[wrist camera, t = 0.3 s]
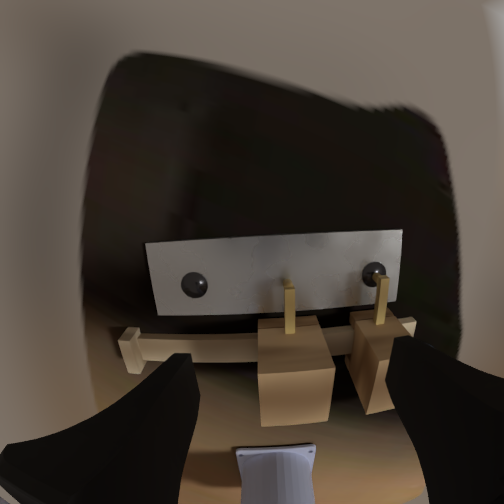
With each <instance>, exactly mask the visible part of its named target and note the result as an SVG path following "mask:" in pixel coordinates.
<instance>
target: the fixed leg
mask: <svg viewBox="0 0 504 504" xmlns="http://www.w3.org/2000/svg"><path fill="white" fill-rule="evenodd" d="M372 279H373V280H374V281H375V282H376V283H377V289H376V299H375V308H374V309H373V310H365V311H356V312H350V318H349V323H350V324H351V326H352V328H353V330H355V331H354V339H353V347H352V353H350V354H345V363H346V366H347V368H348V370H349V373H350V376H351V378H352V380H353V383H354V385H355V388H356V390H357V393H358V395H359V398H360V400H361V403H362V405H363V408H364V410H365V413H366V414H371V413H376V412H380V411H385V410H389V409H393V408H395V407H394V405H393V403H392V400H391V398H390V395H389V392H388V389H387V386H386V383H385V377H386V373H387V369H388V365H389V360H390V355H391V351H392V346H393V341H394V338H395V337H400V336H406V335H409V336H411V334H410V333H409V332H408V331H407V330H406V328H405V327H404V326H403V325H402V324H401V323H400V321H399V320H398V319H397V318H396V317H395V316H394V315H393V313H392V312H391V311H390V310H389V309H388V308H386V306H387V299H388V290H389V281H390V278H389V277H388V276H386V275H381V274H380V273H378V272H376V273H374V274H373V276H372Z"/></svg>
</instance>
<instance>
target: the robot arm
mask: <svg viewBox="0 0 504 504" xmlns="http://www.w3.org/2000/svg"><path fill="white" fill-rule="evenodd" d="M385 383H386V386H387V389H388V392H389V395H390V398H391V400H392V403H393V405H394V407H395V409H396V411H397V413H398V415H399V417H400V419H401V421H402V423H403V425H404V427H405V429H406V431H407V433H408V435H409V437H410V439H411V441H412V443H413V445H414V447H415V450H416V452H417V455H418V458H419V461H420V465H421V468H422V471H423V475H424V479H425V483H426V487H427V492H428V497H429V503H430V504H504V378H500V377H497V376H494V375H491V374H488V373H486V372H483V371H480V370H478V369H475V368H473V367H471V366H469V365H466V364H464V363H462V362H460V361H458V360H456V359H454V358H452V357H450V356H448V355H446V354H445V353H443V352H441V351H439V350H437V349H435V348H433V347H431V346H430V345H428V344H426V343H424V342H422V341H420V340H418V339H416V338H414V337H412V336H409V335H406V336H400V337H395V338H394V341H393V346H392V351H391V355H390V360H389V365H388V369H387V373H386V377H385ZM199 402H200V392H199V388H198V383H197V379H196V375H195V370H194V365H193V361H192V356H191V353H174V354H172V355H171V356H170V357H169V358H168V359H167V360H166V361H165V362H163V363H162V364H161V365H160V366H159V367H158V368H157V369H156V370H155V371H154V372H152V373H151V374H150V375H149V376H148V377H147V378H146V379H144V380H143V381H142V382H141V383H140V384H139V385H137V386H136V387H135V388H134V389H132V390H131V391H130V392H128V393H127V394H126V395H125V396H123V397H122V398H121V399H119V400H118V401H117V402H115V403H114V404H112V405H111V406H109V407H108V408H106V409H104V410H103V411H101V412H99V413H98V414H96V415H94V416H93V417H91V418H89V419H87V420H85V421H82V422H80V423H78V424H76V425H74V426H72V427H70V428H68V429H65V430H62V431H60V432H57V433H55V434H51V435H48V436H45V437H41V438H38V439H34V440H29V441H24V442H19V443H13V444H7V445H6V447H5V448H4V450H3V451H2V452H1V454H0V485H1V486H2V487H3V488H4V489H5V490H6V491H7V492H8V493H9V494H10V495H11V496H12V497H14V498H15V499H16V500H17V501H18V502H19V503H20V504H178V497H179V490H180V483H181V477H182V472H183V468H184V464H185V460H186V457H187V453H188V450H189V446H190V443H191V439H192V436H193V432H194V429H195V425H196V421H197V417H198V410H199ZM315 451H316V446H315V444H307V445H296V446H284V447H265V448H238V449H236V456H237V461H238V466H239V470H240V475H241V480H242V490H241V504H315V499H314V492H313V484H312V477H311V473H312V467H313V462H314V457H315ZM0 504H9V503H8V502H7V501H5V500H4V499H3V498H1V497H0Z"/></svg>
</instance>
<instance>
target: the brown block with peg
mask: <svg viewBox="0 0 504 504" xmlns="http://www.w3.org/2000/svg"><path fill="white" fill-rule="evenodd" d="M283 287H284V318H270V319H258V385H259V399H260V413H261V427H263V426H282V425H295V424H306V423H315V422H323V421H328V416H329V410H330V403H331V397H332V390H333V383H334V375H335V365H334V362H333V360H332V357H331V354H330V351H329V349H328V346H327V343H326V341H325V338H324V335H323V333H322V330H321V327H320V325H319V322H318V320H317V317H316V315H314V316H301V317H295V287H294V285H293V283H292V281H291V280H290V279H285V280H284V281H283Z"/></svg>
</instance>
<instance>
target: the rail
mask: <svg viewBox="0 0 504 504" xmlns="http://www.w3.org/2000/svg"><path fill="white" fill-rule="evenodd" d="M398 320H399V321H400V323H401V324H402V325H403V326H404V327H405V328H406V330H407V331H408V332H409V333H410V334H411V336H412V337H413V335H414V331H415V326H416V320H415V319H414V318H413V317H407V318H401V319H398ZM321 330H322V333H323V335H324V338H325V341H326V343H327V346H328V349H329V351H330V354H331V356H335V355H343V354H350V353H352V347H353V339H354V331H355V330H353V328H352V326H351V325H349V326H340V327H331V328H321ZM118 343H119V346H120V349H121V352H122V355H123V358H124V361H125V364H126V367H127V370H128V373H135V374H140V373H141V371H142V369H143V368H144V366H145V364H146V362H147V360H152V361H166V360H167V359H168V358H169V357H170V356H171V355H172V354H174V353H191V356H192V361H193V362H258V333H240V334H150V333H141V332H140V328H138V327H128V328H127V329H126V330H125V332H124V333H123V334H122V335H121V337H120V338H119V339H118Z"/></svg>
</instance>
